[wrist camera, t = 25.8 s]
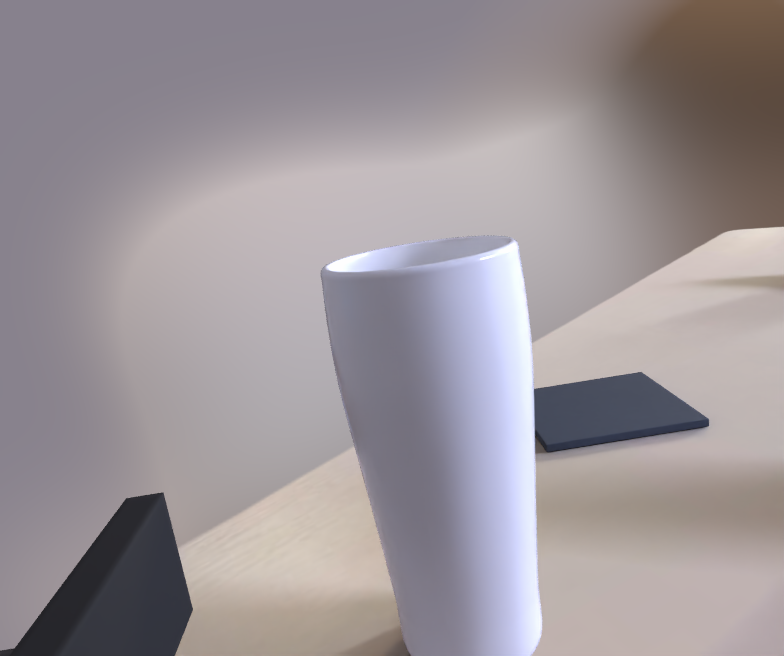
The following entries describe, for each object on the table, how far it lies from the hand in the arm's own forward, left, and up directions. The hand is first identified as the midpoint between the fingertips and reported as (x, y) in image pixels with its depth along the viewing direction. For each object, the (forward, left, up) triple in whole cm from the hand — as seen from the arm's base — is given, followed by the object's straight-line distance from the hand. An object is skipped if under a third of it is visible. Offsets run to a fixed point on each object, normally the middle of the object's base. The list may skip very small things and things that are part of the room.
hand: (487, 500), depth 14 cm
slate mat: (+12, +30, -11) cm, 34 cm away
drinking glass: (0, +10, -11) cm, 15 cm away
